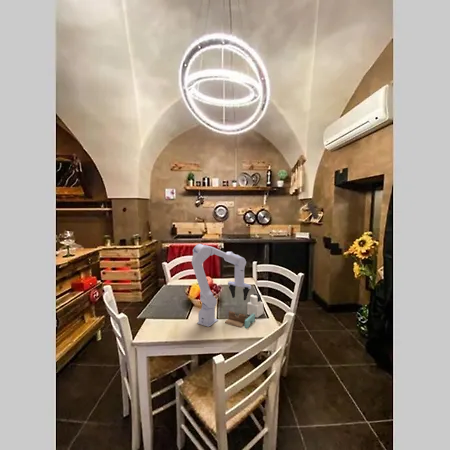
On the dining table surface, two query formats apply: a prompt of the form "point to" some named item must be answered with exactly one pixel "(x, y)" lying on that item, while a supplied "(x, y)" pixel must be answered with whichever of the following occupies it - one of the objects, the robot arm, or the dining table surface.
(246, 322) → the teal block
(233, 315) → the joint base
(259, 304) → the medicine bottle
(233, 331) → the dining table surface
